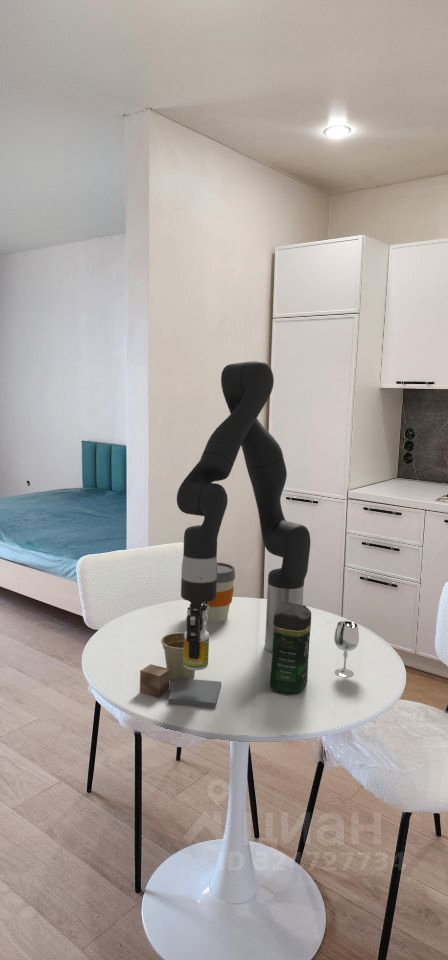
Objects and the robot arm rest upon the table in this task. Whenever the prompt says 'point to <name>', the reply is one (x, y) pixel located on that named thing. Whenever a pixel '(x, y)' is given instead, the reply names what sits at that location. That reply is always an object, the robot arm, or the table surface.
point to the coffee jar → (290, 649)
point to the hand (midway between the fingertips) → (196, 652)
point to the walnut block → (154, 680)
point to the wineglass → (346, 642)
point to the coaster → (195, 693)
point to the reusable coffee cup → (222, 594)
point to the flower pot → (175, 656)
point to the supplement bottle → (204, 650)
